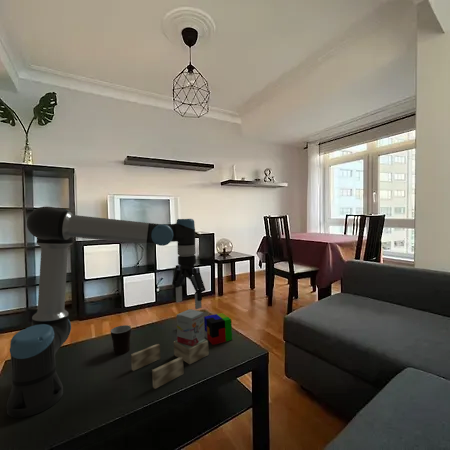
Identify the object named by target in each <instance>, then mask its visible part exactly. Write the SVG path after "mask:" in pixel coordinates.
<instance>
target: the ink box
mask: <svg viewBox="0 0 450 450" xmlns="http://www.w3.org/2000/svg"><path fill="white" fill-rule="evenodd" d="M204 317H205V315H204V311H199V310H197V309H190V308H188V309H187V310H184V311H182V312H180V313H178V314H176V337H177V338H176V340H177V342H179V343H182V344H186V345H189V346H194V345H195V344H197V343H198V342H200V341H201V340H203V339H205V326H204Z"/></svg>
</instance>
